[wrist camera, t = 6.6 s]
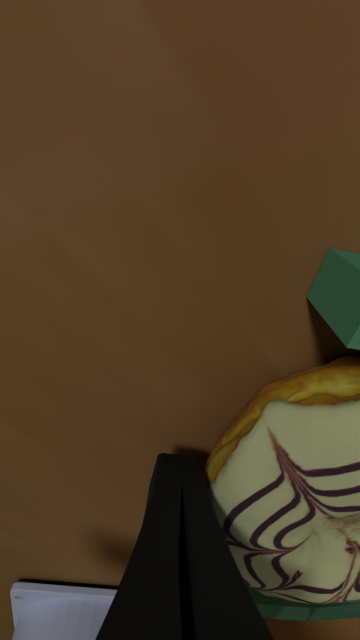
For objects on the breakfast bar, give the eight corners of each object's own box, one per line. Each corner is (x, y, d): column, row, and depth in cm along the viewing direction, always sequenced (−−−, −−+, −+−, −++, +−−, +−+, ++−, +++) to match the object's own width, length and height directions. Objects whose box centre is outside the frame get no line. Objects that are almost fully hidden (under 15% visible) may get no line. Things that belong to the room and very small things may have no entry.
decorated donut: (522, 345, 10) (681, 440, 7) (399, 522, 16) (458, 622, 13) (207, 339, 10) (222, 435, 7) (191, 521, 16) (195, 624, 12)
